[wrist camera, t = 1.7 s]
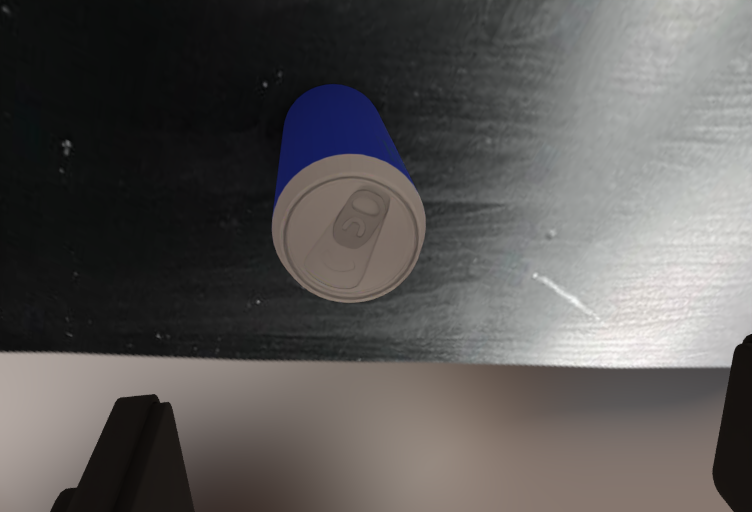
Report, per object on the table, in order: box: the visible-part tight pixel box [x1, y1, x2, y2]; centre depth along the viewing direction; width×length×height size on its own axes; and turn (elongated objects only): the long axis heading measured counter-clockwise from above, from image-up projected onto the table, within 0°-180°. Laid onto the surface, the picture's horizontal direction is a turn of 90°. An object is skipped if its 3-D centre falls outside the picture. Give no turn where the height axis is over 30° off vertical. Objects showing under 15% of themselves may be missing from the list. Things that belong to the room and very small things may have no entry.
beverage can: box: [272, 84, 426, 303], centre depth 28 cm, size 5×5×15 cm
